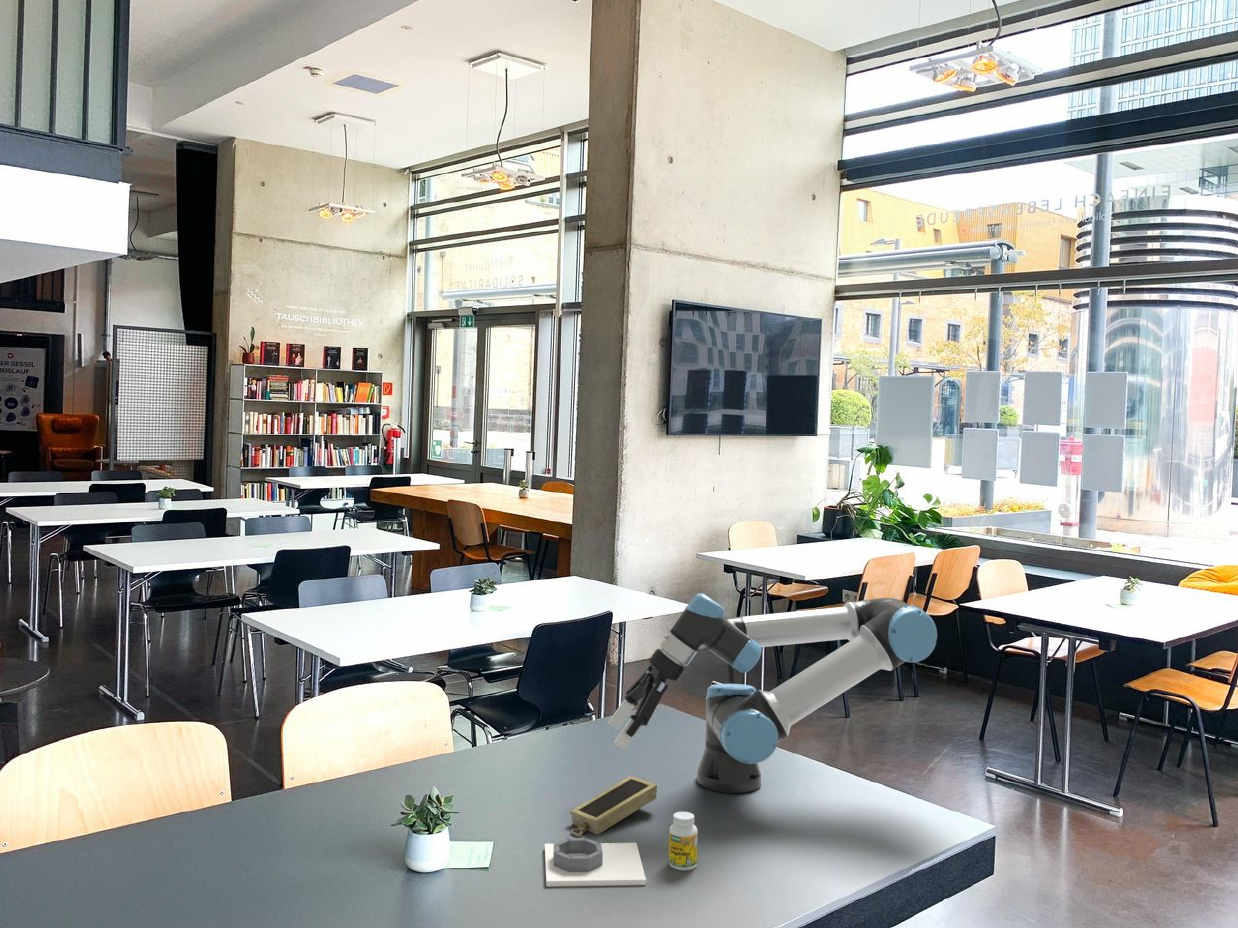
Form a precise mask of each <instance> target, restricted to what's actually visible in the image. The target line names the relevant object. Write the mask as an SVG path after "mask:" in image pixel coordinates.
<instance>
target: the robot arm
mask: <svg viewBox="0 0 1238 928" xmlns="http://www.w3.org/2000/svg"><path fill="white" fill-rule="evenodd" d="M725 613H726V610H725V608H724V607H723V606H722V605H720V604H719V603H717V602H716V601H715V600H713V599H712V598H711V597H709V596H707V594H704V593H697V594H695V596H693V598H692V600H690V602H689V603H688V604H687V605H686V606H685V609H684V610H683V612H682V613H681V615H680V616H679V617H678V619H677V620H676V622H675V624H674V625H673V626H672V628H671V629H670V630H669V632H668V633H667V634H666V633H665V634H664V635H662V639H663V640H662V641H661V643H660V644H659V646H660V648H656V650H655V651H654V652H653V654H652V655H651V657H650V658H649V659H648V662H649V664H650V665H648V668H647V669H646V670H645V671H644V673H642V675H641V676H640V677H639V678H637V680H636V681H635V682H634V683H633V684H632V685H631V686H630V687H629V689H627V690H626V692H625V697H624V699H623V701H622V702H621V704H620V705H619V706H618V708H617V709H616V711H614V713H613V715H612V716H611V718H610V719H609V721H608V722H607V724H608V725H610V726H611V727H613V728H614V729H616V730H617V731H619V729H620V728H621V726H622V725H623V724H624V722H625V721H626V719H627V718H628V717H629V720H628V722H627V723H626V724H625V726H623V729H622V730H621V731H620V733H619V734H618V736H617V737H616V738H615V740H614V741H613V744H614V745H615V746H617V747H618V748H620V749H621V750H623V751H626V748H627V747H628V746H629V745H630V743H631V742H632V740H633V739H634V738H635V736H636V735H637V734H638V732H639V730H640V729H641V728H642V726H644V727H646V726H648V724H649V722H650V720H651V718H652V716H653V714H654V712H655V711H656V709H657V706H658V705H659V703H660V701H661V699H662V697H663V695H664V694H665V693H666V691H667V690H668V688H669V685H668V684H666V682H667V680H670V681H673V682H677V681H678V680H679V678H681V677H680V676H682V674H683V672H684V671H685V667H686V666H689V664H690V663H691V662H692V660H693V659H694V657H695V656H696V654H698V652H699V650H700V649H701V647H702V646H703V647H704V648H705V649H707V650H708V651H710V652H711V653H713V654H714V655H715V656H717V657H718V658H720V659H721V660H722V661H723V662H725V663H726V664H728V665H729V666H731V668H732V669H733V668H734V669H735V670H737V671H738V672H740V673H743V674H746V673H748V672H750V671H751V670H752V669H753V668H755V666H756V664H757V663H758V662H759V660H760V658H761V655H762V648H767V647H776V646H777V647H778V646H785V645H786V646H787V645H788V646H789V645H796V644H797V645H799V644H807V643H808V644H810V643H817V642H828V641H829V642H830V641H841V640H848V642H846V643H845V644H843V645H842V646H839V647H838V648H836V649H835V650H834V651H832V652H830V653H829V654H827V655H826V656H824V657H823V658H821V659H820V660H818V661H816V662H815V663H813V664H812V665H810V666H808V667H807V668H805V669H804V670H802V671H801V672H800V671H799V673H797V674H796V675H794V676H792V677H791V678H789V679H788V680H786V681H784V682H783V683H781V684H779V685H778V686H776V687H775V688H773V689H772V690H770V691H766V690H760V689H759V690H757V689H756V688H755V687H754V686H753V685H748V684H741V683H721V684H719V683H718V684H716V683H715V684H712V685H710V686H709V687H708V688H707V690H706V697H705V700H706V701H705V702H706V704H705V706H706V708H705V742H704V743H705V744H704V750H703V753H702V756H701V758H700V761H699V764H698V767H697V769H696V782H697V784H698V785H700V786H701V787H703V788H705V789H707V790H711V791H715V792H719V793H726V794H727V793H728V794H743V793H750V792H752V791H756V790H757V789H759V788H760V787H761V786H762V772H761V770H760V766H759V763H762V762H765V761H766V760H768V759H769V758H770V757H771V756H772V755H773V754H774V752H775V751H776V749H777V745H778V744H779V742H781V741H783V740H784V739H786V738H787V737H788V736H790V735H789V734H790V730H791V728H792V726H793V725H795V724H796V723H798V722H799V721H801V720H802V719H804V718H806V717H807V716H809V715H810V714H811V713H814V712H815V711H816V710H818V709H819V708H821V707H823V706H824V705H826V704H828V703H829V702H831V701H832V700H833V699H835V698H837V697H838V696H840V695H841V694H843V693H845V692H846V691H848V690H850V689H851V688H852V687H855V686H856V685H857V684H859V683H860V682H862V681H864V680H865V679H867V678H868V677H870V676H871V675H873V674H874V673H876V672H878V671H880V670H885V671H890V672H891V671H893V670H894V669H896V668H898V667H899V666H900V665H903V664H904V663H906V662H907V663H918V662H921V661H923V660H925V659H926V658H928V657H930V655H931V654H932V653H933V651H934V650H935V647H936V645H937V640H938V629H937V625H936V623H935V621H934V620H933V618H932V617H931V616H930V615H929V614H928V613H926V611H924V610H923V609H921V608H920V607H918V606H915V605H910V604H909V603H907V602H904V601H902V600H900V599H897V598H895V597H894V598H892V597H880V598H879V597H878V598H871V599H864V600H856V601H847V602H845V603H844V605H843V606H839V607H826V608H818V609H808V610H806V609H805V610H798V611H788V612H787V611H785V612H778V613H777V612H775V613H765V614H758V615H757V614H756V615H747V616H746V615H745V616H738V617H737V616H734V617H727V616H724V615H725ZM639 701H640V702H639ZM635 707H637V709H636V711H635V713H634V714H631V712H632V711H633V710H634V709H635ZM630 714H631V715H630ZM629 715H630V716H629Z"/></svg>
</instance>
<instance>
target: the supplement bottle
mask: <svg viewBox="0 0 1238 928" xmlns="http://www.w3.org/2000/svg"><path fill="white" fill-rule="evenodd" d="M672 822H673V824H671V826H669V829H668V830H669V831H668V832H669V834H668V836H669V837H668V841H669V843H668V865H669V866H670V867H671V868H673V869H674V870H677V871H685V872H686V871H692V870H693V869H695V868H696V867H697V865H698V834H699V833H698V831H699V830H698V828H697V826H696V825H695V814H694V813H691V812H689V811H677V812H675V813H673V815H672Z"/></svg>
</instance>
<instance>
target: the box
mask: <svg viewBox="0 0 1238 928" xmlns="http://www.w3.org/2000/svg"><path fill="white" fill-rule="evenodd" d="M657 789H658V785H657V784H655V783H653V782H650V781H647V780H644V779H641V778H638V777H635V776H632V775H630V776H627V777H626V778H624V779H623V780H621V781H619V782H618V783H616V784H614V785H613V786H611V787H608V788H607V789H606V790H604V791H602V792H600V793H598V794H597V795H595V796H593V797H591V798H590V799H588V800H587V801H584V803H581V804H580V805H578V806H576V807H575V808H573V809H572V810H570V812H569V813H570V815H571V822H572V825H574V826H575V827H577V828H573V829H571V830H570V832H571V834H572V835H573V836H575V837H576V838H581V837H582V836H583V834H584V833H585V832H586V831H587V832H589V833H592V834H595V835H600V834H601V833H603V832H605V831H606V830H609V828H611V827H612V826H614V825H615V824H617V823H619V822H620V821H622V820H623V819H625V818H627V817H628V816H630V815H632V814H633V813H635V812H637V811H639V809H641V808H643V807H644V806H646V805H648V804H650V803H652V802H653V801H655V800H656V799H657V792H658V790H657Z"/></svg>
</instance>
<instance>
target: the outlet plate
mask: <svg viewBox="0 0 1238 928" xmlns="http://www.w3.org/2000/svg"><path fill="white" fill-rule="evenodd" d="M544 861H545V863H544V864H545V885H546V887H548V888H549V887H598V886H599V887H601V886H603V887H604V886H605V887H606V886H607V887H608V886H612V887H613V886H646V885H647V877H646V875H645V874H646V873H645V870H644V866H643V862H642V860H641V855H640V852H639V847H638V845H637V842H604V843H603V842H597V841H596V840H593V839H590V838H587V837H583V838H582V837H576V838H575V837H574V838H573V837H572V838H571V837H570V838H565V839H563V840H560V841H558V842H555V843H544Z"/></svg>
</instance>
